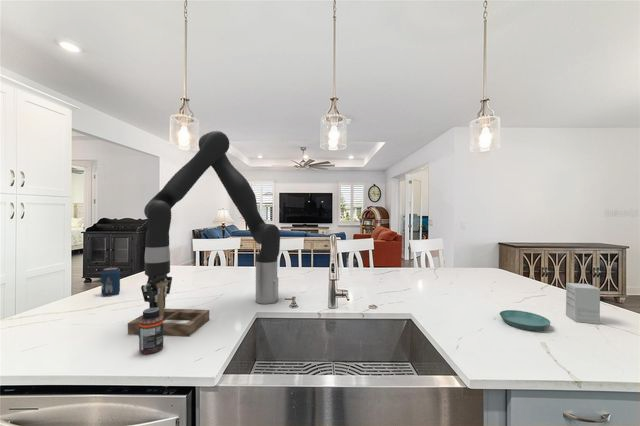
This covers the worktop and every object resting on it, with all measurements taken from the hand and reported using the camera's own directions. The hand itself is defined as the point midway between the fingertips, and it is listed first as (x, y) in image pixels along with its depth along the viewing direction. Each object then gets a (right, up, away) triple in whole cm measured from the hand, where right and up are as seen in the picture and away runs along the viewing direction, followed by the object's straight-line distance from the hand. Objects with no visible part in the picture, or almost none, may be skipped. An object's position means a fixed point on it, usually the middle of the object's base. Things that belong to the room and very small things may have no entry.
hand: (157, 310), depth 100 cm
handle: (0, -5, 0) cm, 5 cm away
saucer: (+126, -7, +4) cm, 127 cm away
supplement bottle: (+7, -6, -17) cm, 19 cm away
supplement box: (+151, -6, +8) cm, 151 cm away
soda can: (-41, -5, +36) cm, 55 cm away
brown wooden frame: (+5, -5, 0) cm, 7 cm away
